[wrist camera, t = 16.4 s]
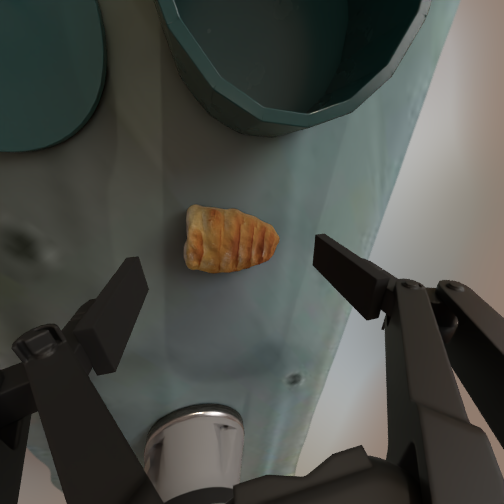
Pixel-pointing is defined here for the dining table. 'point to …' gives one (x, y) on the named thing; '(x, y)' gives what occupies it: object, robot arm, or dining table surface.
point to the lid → (48, 70)
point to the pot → (287, 56)
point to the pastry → (226, 240)
